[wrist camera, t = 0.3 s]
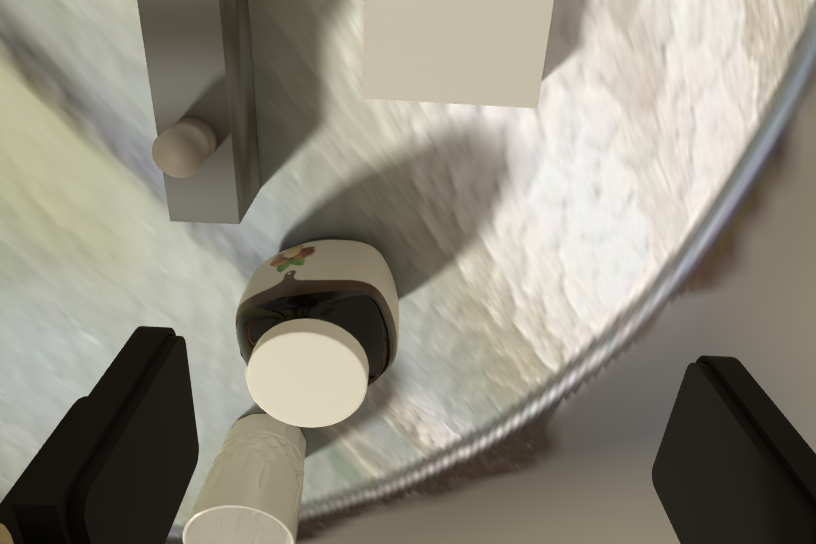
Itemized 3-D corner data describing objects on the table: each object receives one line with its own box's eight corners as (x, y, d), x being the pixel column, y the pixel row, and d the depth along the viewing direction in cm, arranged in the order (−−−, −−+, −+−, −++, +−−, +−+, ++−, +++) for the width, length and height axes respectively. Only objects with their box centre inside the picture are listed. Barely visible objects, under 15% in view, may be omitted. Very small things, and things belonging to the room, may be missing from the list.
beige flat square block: (370, -104, 33) (366, -109, 30) (551, -92, 33) (568, -96, 30) (366, 84, 38) (362, 98, 34) (525, 93, 38) (537, 108, 35)
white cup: (325, 465, 53) (309, 569, 44) (241, 482, 54) (209, 587, 45) (295, 397, 49) (271, 496, 41) (205, 417, 50) (163, 517, 41)
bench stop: (150, -234, 30) (59, -297, 22) (231, -228, 30) (170, -290, 22) (200, 185, 41) (151, 243, 33) (260, 187, 41) (226, 246, 33)
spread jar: (386, 221, 42) (380, 310, 32) (415, 352, 47) (418, 465, 37) (221, 250, 43) (163, 346, 33) (267, 375, 48) (230, 491, 38)
